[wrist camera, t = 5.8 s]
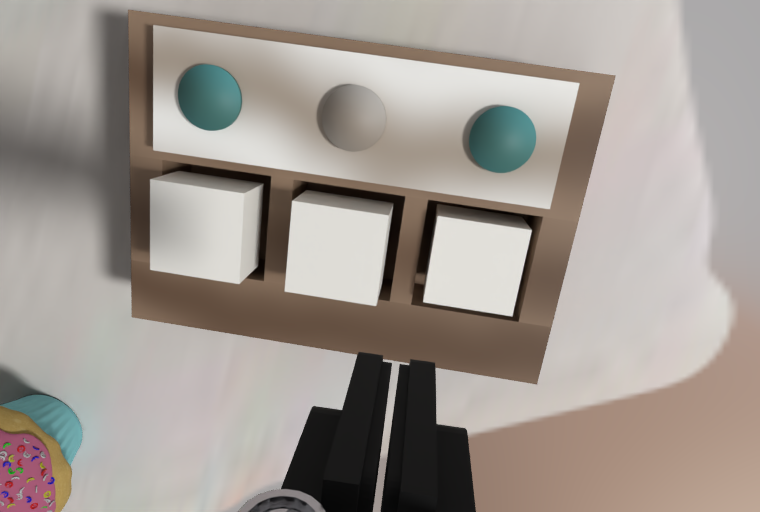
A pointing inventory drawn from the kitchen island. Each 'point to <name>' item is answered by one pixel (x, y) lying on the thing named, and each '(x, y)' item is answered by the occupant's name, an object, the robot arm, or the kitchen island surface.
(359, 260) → the button mid
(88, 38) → the kitchen island surface
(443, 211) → the white square block
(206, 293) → the board
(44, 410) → the cupcake
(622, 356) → the kitchen island surface
